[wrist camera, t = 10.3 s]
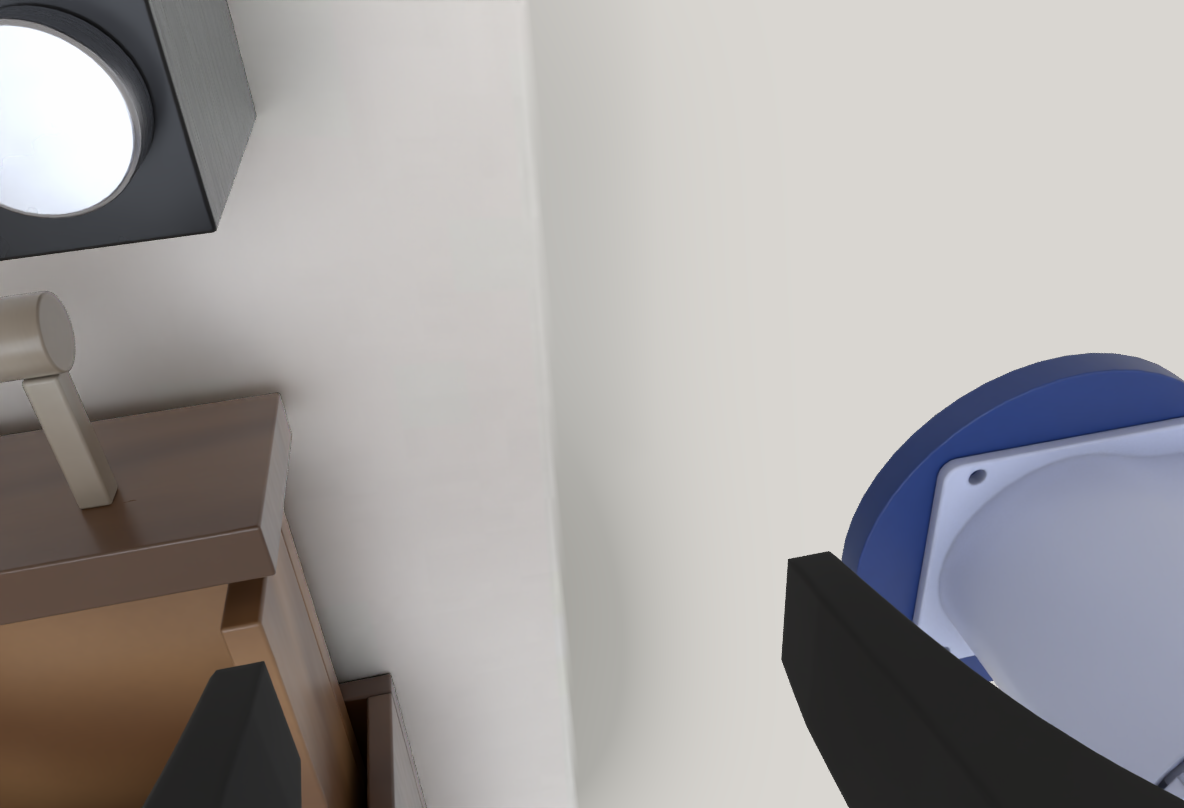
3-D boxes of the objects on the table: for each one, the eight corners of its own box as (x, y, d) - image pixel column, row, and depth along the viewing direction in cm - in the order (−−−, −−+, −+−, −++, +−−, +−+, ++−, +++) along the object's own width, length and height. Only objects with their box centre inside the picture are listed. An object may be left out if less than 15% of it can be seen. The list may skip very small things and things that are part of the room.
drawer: (-418, 293, 17) (-654, 439, 13) (227, 208, 18) (190, 317, 14) (-11, 856, 26) (-75, 1037, 22) (390, 771, 28) (394, 927, 24)
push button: (197, -116, 16) (103, -72, 10) (257, 118, 18) (207, 261, 13) (12, -99, 16) (-193, -44, 10) (96, 137, 18) (-33, 294, 12)
